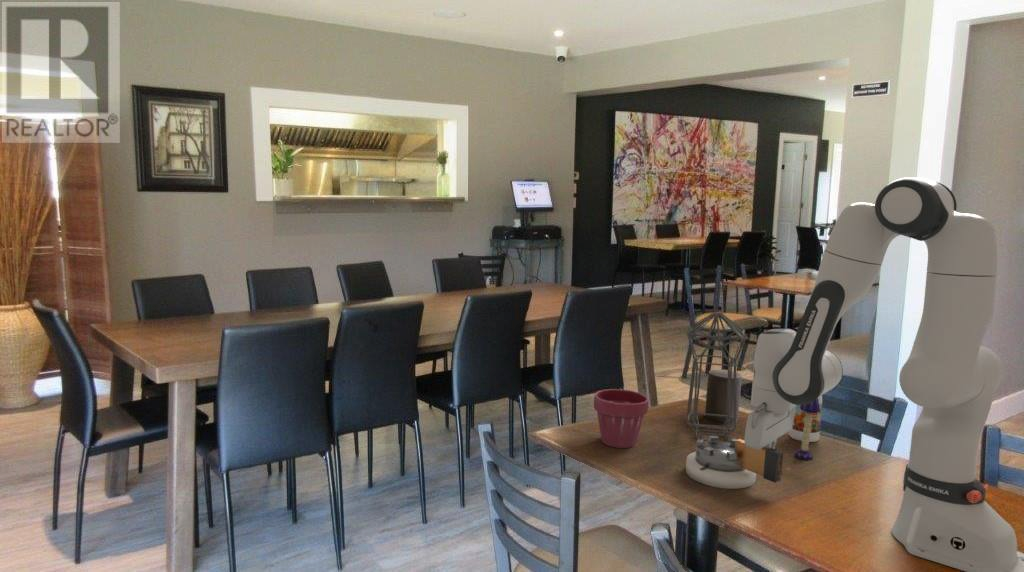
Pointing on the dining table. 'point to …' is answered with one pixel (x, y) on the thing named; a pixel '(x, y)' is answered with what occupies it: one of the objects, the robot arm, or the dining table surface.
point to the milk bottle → (799, 421)
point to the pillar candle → (721, 394)
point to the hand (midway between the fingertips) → (767, 457)
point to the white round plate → (718, 475)
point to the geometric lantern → (742, 336)
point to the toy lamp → (807, 429)
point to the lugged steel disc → (739, 458)
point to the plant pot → (620, 416)
